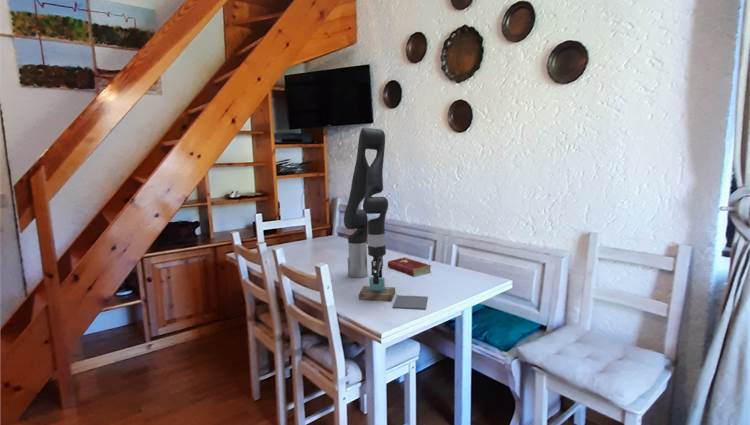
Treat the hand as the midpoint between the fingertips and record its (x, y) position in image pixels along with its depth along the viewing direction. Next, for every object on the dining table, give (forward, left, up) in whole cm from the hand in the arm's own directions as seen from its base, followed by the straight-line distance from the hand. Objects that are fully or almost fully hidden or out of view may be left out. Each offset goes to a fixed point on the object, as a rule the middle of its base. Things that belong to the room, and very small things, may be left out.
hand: (377, 280), depth 177 cm
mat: (+15, -6, -7) cm, 17 cm away
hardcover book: (+9, +41, -8) cm, 42 cm away
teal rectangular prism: (0, 0, -7) cm, 7 cm away
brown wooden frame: (0, 0, -7) cm, 7 cm away
